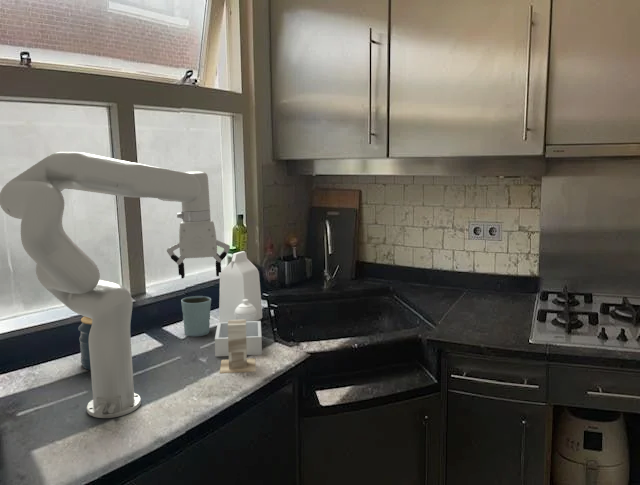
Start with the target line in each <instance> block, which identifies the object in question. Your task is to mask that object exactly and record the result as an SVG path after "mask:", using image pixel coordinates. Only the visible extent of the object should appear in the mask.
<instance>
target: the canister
mask: <svg viewBox="0 0 640 485" xmlns="http://www.w3.org/2000/svg"><path fill="white" fill-rule="evenodd" d="M80 322H81V324H79V326H78V328H77V329H78V331H80V336H79V339H78V340H79V343H80V344H79V347H80V348H79V349H80V363H81V365H82V366H81V367H82V368H83V369H85V370H88V371H91V365H90V352H89V333H90V329H91V326H92V319H91V318H89V317H86V316H83V317H81V319H80Z"/></svg>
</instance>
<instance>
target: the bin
mask: <svg viewBox="0 0 640 485" xmlns="http://www.w3.org/2000/svg"><path fill="white" fill-rule="evenodd" d="M262 339H263V338H262V322H261V320H257V321H246V344H247V356H253V355H254V356H255V355H263V349H262V348H263V345H262V343H263V342H262V341H263V340H262ZM214 355H215V357H229V350H228V322H221V323H219V322H217V326H216V331H215V336H214Z"/></svg>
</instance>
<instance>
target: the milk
mask: <svg viewBox="0 0 640 485" xmlns="http://www.w3.org/2000/svg"><path fill="white" fill-rule="evenodd" d="M260 280H261V279H260V271H259V270H258V268H257V267H256V266H255V264H253V263H252V262H251V260H250V259H248V257H247V252H246V251H243V250H242V251H238V252H234V253H232V257H231V261H230V262H229V263H228V264H227V265H226V266H225V267H224V268H223V269H222V270H221V273H219V298H218V299H219V300H218V301H219V302H218V304H219V306H218V307H219V308H218V309H219V310H218V323H221V322H228V320H237V319H236V317H235V309H236V308H237V307H238V305H240V304H242V303H243V300H244V299H247V300H248V303H249V304H252V305H253V306H254V307H255V309H256V311H257V315H256V318H255V320H254V321H260V320H262V318H263V308H262V306H263V305H262V295H261V294H262V293H261V282H260Z"/></svg>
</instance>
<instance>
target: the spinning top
mask: <svg viewBox="0 0 640 485" xmlns="http://www.w3.org/2000/svg"><path fill="white" fill-rule="evenodd" d="M256 315H257V311H256V309H255V307H254V306H253V305H252V304H249V303H248V300H247V299H244V300H243V303H242V304H240V305H238V307H237V308H236V309H235V317H236V319H237V320H240V319H246V321H254V320H255V318H256Z"/></svg>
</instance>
